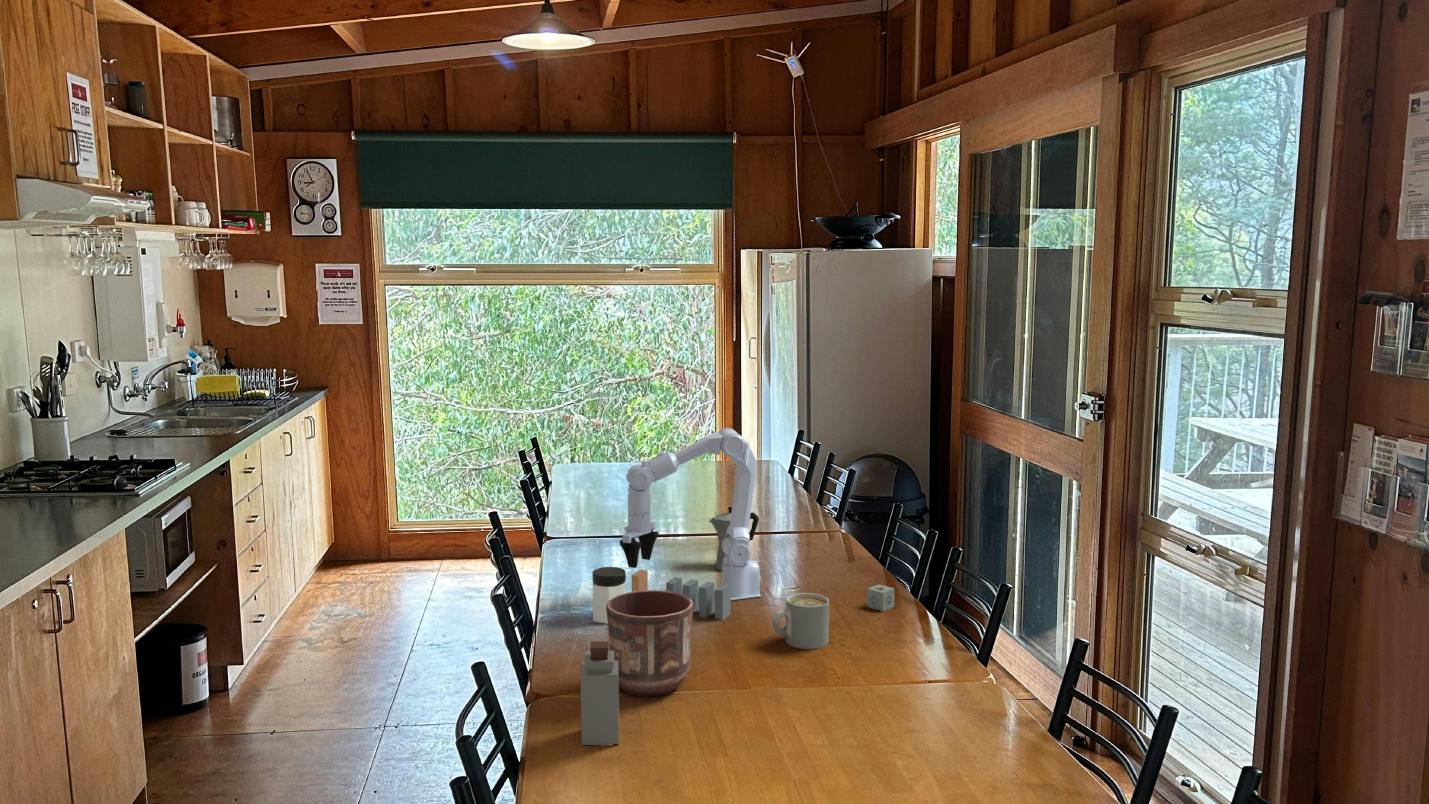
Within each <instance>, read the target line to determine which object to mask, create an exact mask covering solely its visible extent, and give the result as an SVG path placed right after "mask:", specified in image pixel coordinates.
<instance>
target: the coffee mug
mask: <svg viewBox="0 0 1429 804" xmlns="http://www.w3.org/2000/svg"><path fill="white" fill-rule="evenodd" d="M784 617H785V625H784V627H783V628H780V620H781V619H782V618H784ZM772 626H773V630H774V631H775V633H776V634H777V635H780V636H783V637H785V642H786V644H787V645H788V646H790V647H792V648H797V649H802V650H816V649H821V648H824V647H826V646H827V645H828V644H829V639H830V637H829V635H830V630H829V629H830V628H829V627H830V599H829V598H828V597H827V596H824V595H822V594H820V593H819V594H818V593H812V592H801V593H794V594H790V595H788V596H787V597H786V600H785V608H783V609H779V610H778V611H776V612H775V613H774V615H773V618H772Z"/></svg>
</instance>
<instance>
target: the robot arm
mask: <svg viewBox="0 0 1429 804" xmlns="http://www.w3.org/2000/svg"><path fill="white" fill-rule="evenodd" d="M721 452H722V453H723V454H724V456H726V457H728V458H729V459H730V460H732V461H733V463H734V464H735V465H736V467H737V468H736V475H735V484H734V492H733V498H732V506H731V507H732V512H731V519H730V525H729V527H728V528H727V533H726V536H725V537H724V539H723V541H722V545H721V546H722V550H723V552H724V553H725V557H724V559H723V572H722V579H721V580H722V582H721V583H722V584H728V585H731V601H736V600H744V599H752V598H753V599H754V598H758V597H761V596H762V595H761V593H760V587H761V586H760V584H761V583H760V582H761V581H760V577H761V575H760V567H759V564H758V562H757V561H756V560H751V558H752V549H751V546H750V541H751V540H750V537H749V536H750V530H749V526H750V520H751V519H750V514H751V513H752V506H753V505H752V504H753V499H754V498H753V497H754V496H753V495H754V490H755V483H756V475H757V469H758V461H757V458H756V457H755V454H754V452H753V450H752V448H751V446H750V443H749V442H748V441H747V440H746V439H745V438H744V437H743V436H742V435H740V434H739V433H738V432H737V431H736V430H735V429H733V428H731V427H725V428H722V429H720V430H719V431H714V432H711V433H710V434H708V435H706V436H704V437H702V438H701V439H699V440H696V441H695V442H693V443H691V444H689V445H688V446H685V447H684V448H682V449H680V450H678V451H676V452H669V451H666V452H663V451H660V452H657V455H656V456H655V457H652V458H651V459H649V460H642V461H641V462H640V463H641V464H634V465H632V466H631V467H630V468H629V469H628V470H627V473H626V475H625V476H626V477H625V478H626V481H627V482H628V483H629V484H628V489H627V491H628V492H627V493H628V494H627V526H625V527H624V529H623V530H624V531H625V532H624V533H623V534H622V538H621V540H620V539H619V545H620V546H621V548H622V550H623V552H624V555H625V559H626V563H627V567H628V568H631V569H632V568H633V569H637V567H638V562H639V555H641V559H642V560H647V561H650V560H651V558H652V555H653V554H652V553H653V549H654V545H655V543H656V542H657V541H656V540H657V539H658V536H659V532H658V531H655V530H656V522H654V521H651V494H650V487H651V485H652V483H656V482H657V481H659V480H660V481H661V480H662V479H665V478H666V477H668V476H671V475H672V474H674V473H676V472H677V471H678V469H679V466H680V465H682V464H685V463H687V462H689V461H692V460H695V459H696V458H699V457H702V456H703V455H706V454H711V455H712V454H713V455H718V456H720V455H721ZM636 539H638V541H637V540H636ZM639 553H640V554H639ZM722 584H721V585H722Z"/></svg>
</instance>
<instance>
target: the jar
mask: <svg viewBox="0 0 1429 804" xmlns="http://www.w3.org/2000/svg"><path fill="white" fill-rule="evenodd" d="M626 578H627V575H626V570H625V569H623V568H621V567H619V566H603V567H598V568H595V569H593V571H592V621H593V622H595V623H599V624H604V623H605V624H604V625H608V620H607V612H606V604H607V603H608V601H609V600H610V599H612V598H614V597H616V596H619V595H622V594H625V593H626Z"/></svg>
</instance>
